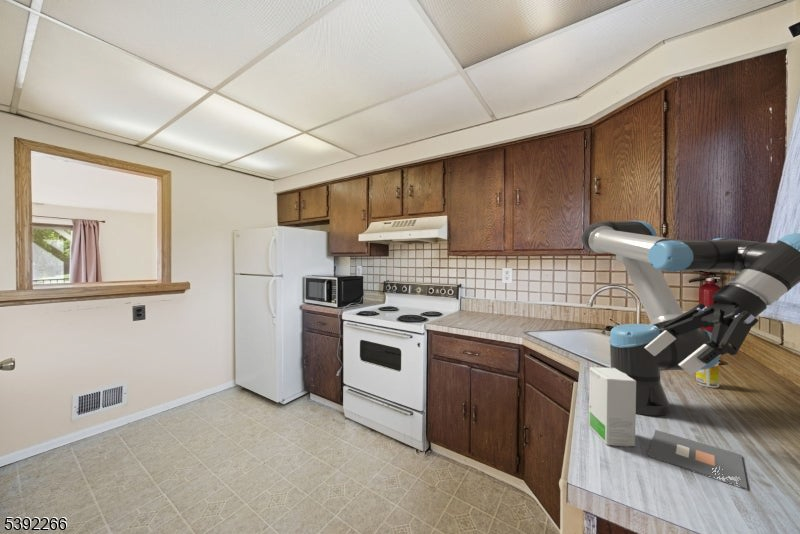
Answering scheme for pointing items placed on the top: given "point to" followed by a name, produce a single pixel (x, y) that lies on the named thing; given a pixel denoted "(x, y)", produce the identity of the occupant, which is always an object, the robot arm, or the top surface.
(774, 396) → the top surface
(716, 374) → the supplement bottle
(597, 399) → the skincare box
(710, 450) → the mat
